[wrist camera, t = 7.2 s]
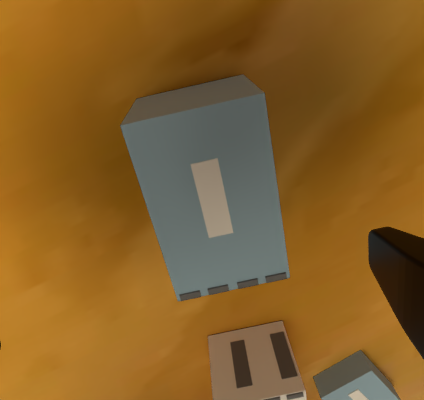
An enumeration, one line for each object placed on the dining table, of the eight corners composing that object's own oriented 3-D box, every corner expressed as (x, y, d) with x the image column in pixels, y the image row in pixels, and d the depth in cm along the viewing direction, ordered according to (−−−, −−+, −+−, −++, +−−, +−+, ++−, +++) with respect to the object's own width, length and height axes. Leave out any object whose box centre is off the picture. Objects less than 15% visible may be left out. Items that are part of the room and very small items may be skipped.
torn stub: (389, 379, 28) (403, 405, 26) (344, 403, 29) (355, 430, 27) (358, 346, 26) (372, 371, 24) (311, 372, 27) (321, 399, 25)
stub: (266, 222, 20) (290, 278, 16) (179, 241, 20) (178, 302, 16) (243, 74, 16) (265, 93, 12) (136, 98, 16) (119, 126, 12)
